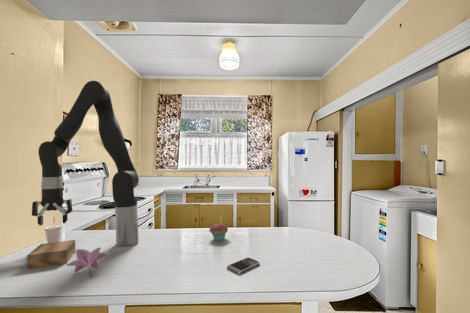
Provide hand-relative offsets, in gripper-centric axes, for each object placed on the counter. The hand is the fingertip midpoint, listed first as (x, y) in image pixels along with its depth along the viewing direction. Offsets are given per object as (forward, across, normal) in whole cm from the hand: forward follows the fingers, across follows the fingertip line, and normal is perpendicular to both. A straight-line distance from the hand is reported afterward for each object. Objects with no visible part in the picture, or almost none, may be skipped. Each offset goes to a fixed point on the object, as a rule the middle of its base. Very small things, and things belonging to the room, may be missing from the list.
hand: (52, 224), depth 108 cm
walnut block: (+11, -4, +14) cm, 18 cm away
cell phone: (+10, -71, +49) cm, 86 cm away
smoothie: (+11, 0, 0) cm, 11 cm away
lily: (+11, -20, +33) cm, 40 cm away
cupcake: (+10, -70, +18) cm, 73 cm away
